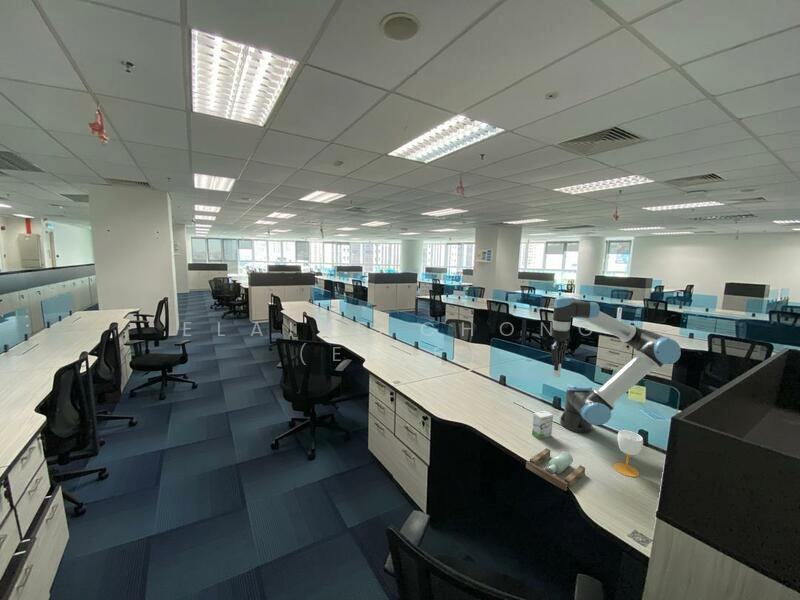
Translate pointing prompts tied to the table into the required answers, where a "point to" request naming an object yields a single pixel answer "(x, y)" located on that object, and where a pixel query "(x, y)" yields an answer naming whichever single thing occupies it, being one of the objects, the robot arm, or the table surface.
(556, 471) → the bottle
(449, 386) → the table surface
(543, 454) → the u rest
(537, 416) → the ink box
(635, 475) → the cup
